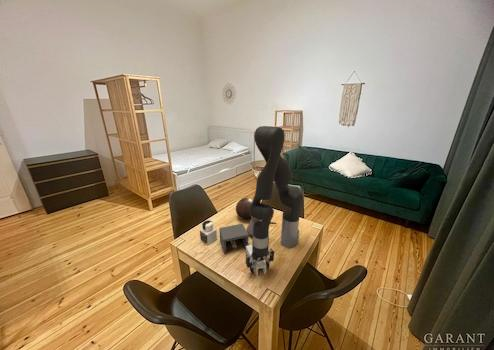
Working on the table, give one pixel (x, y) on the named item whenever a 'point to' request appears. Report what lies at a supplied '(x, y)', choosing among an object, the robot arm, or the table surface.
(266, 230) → the robot arm
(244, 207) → the wooden sphere
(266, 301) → the table surface
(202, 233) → the medicine bottle
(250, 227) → the coffee pot
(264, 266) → the long white plank
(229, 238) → the shelf
